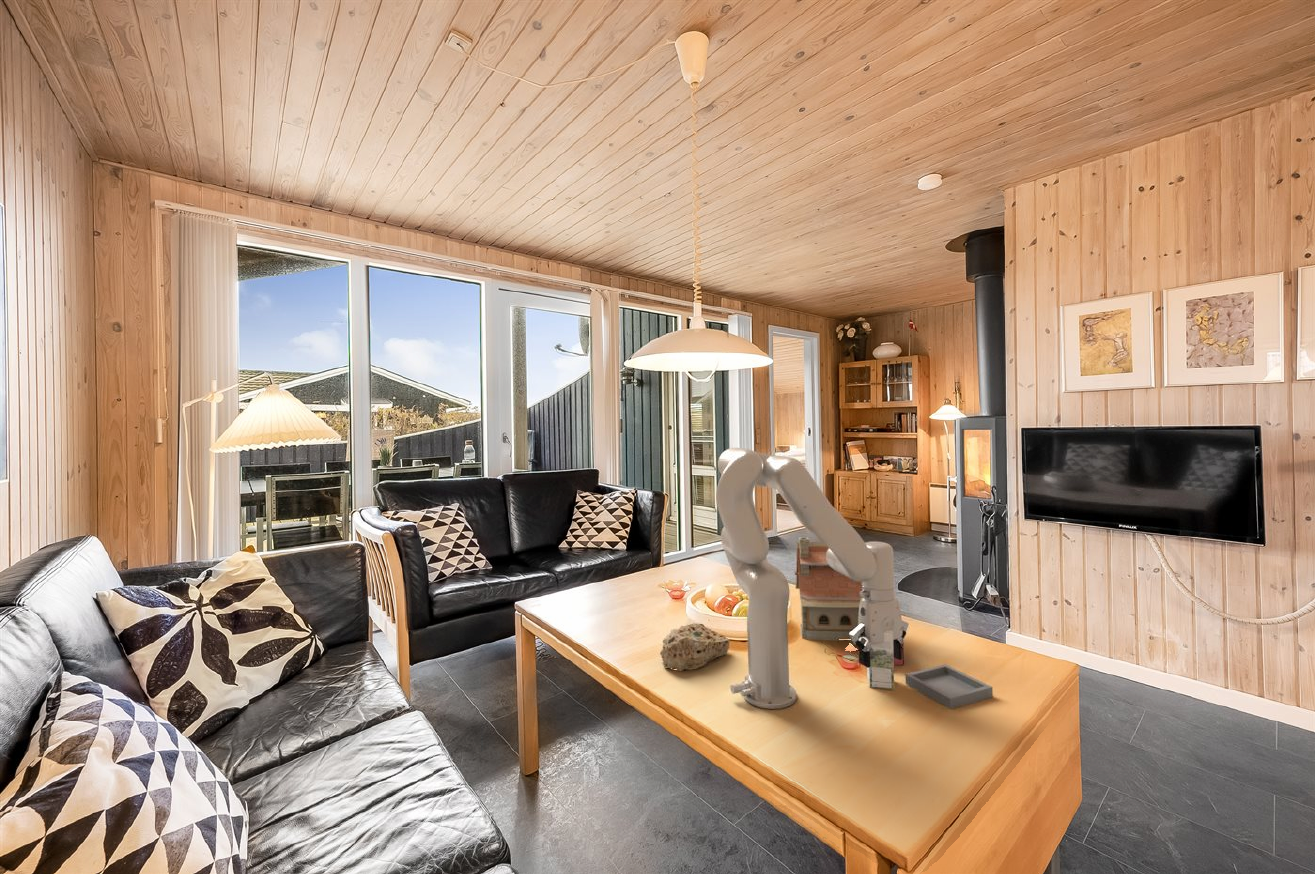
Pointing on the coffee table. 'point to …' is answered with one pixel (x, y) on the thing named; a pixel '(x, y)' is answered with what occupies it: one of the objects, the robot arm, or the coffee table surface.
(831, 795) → the coffee table surface
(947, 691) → the slate tray
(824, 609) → the miniature house
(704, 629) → the rock
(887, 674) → the syrup box
